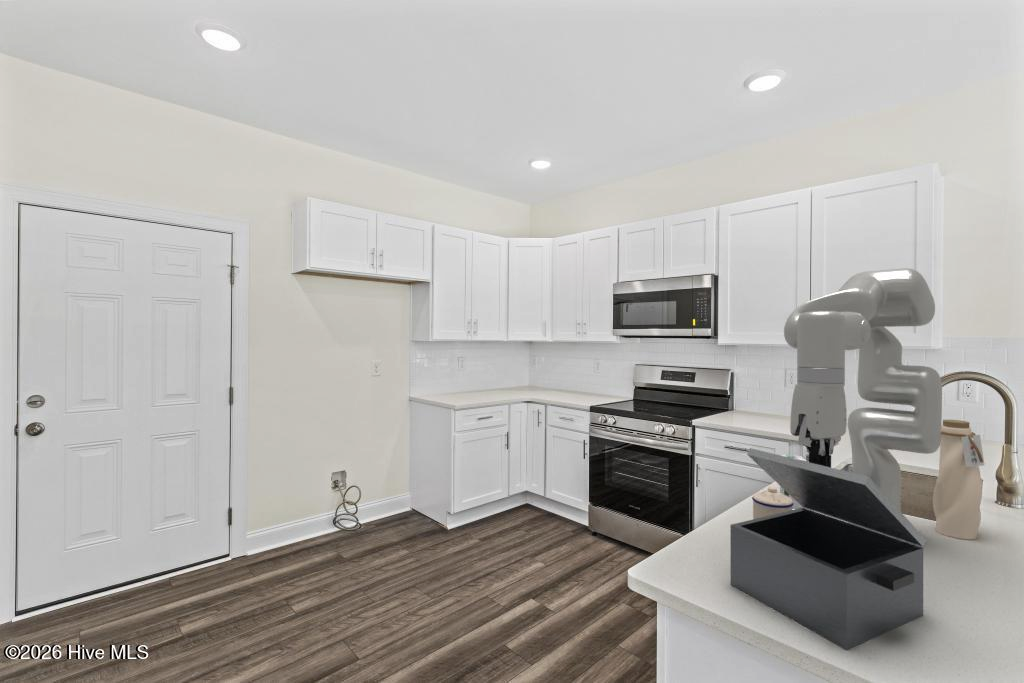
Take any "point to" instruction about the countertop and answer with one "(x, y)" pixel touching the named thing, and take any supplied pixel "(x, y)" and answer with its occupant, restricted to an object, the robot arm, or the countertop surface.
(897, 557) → the grey lidded box
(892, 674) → the countertop surface
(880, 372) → the robot arm
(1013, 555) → the countertop surface
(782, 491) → the syrup box
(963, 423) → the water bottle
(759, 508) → the teacup with lid
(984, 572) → the countertop surface
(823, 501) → the cooker lid
